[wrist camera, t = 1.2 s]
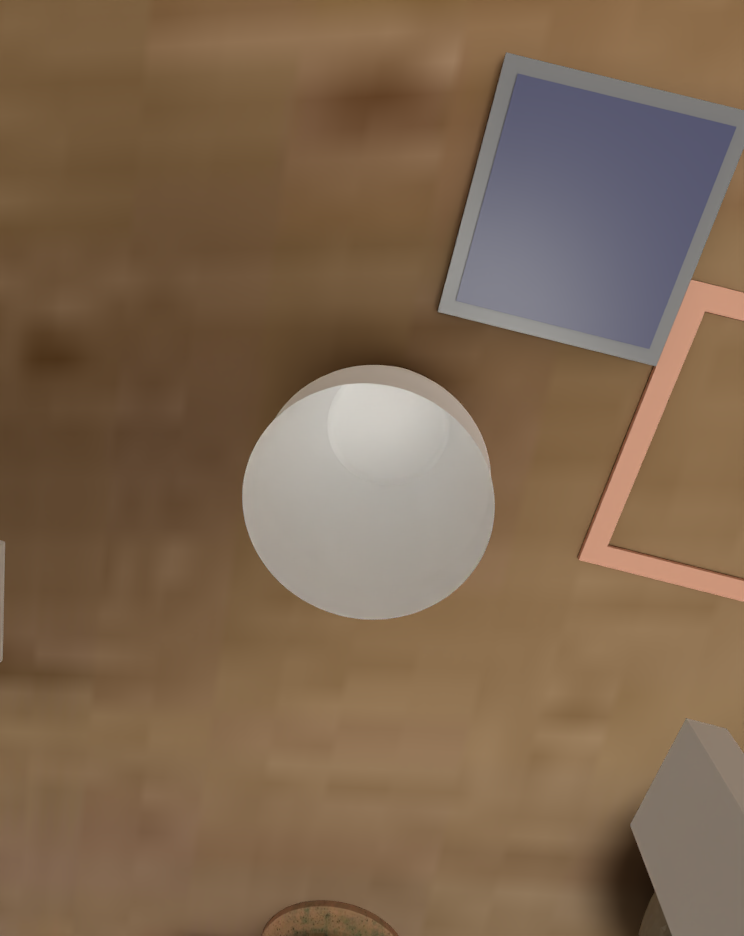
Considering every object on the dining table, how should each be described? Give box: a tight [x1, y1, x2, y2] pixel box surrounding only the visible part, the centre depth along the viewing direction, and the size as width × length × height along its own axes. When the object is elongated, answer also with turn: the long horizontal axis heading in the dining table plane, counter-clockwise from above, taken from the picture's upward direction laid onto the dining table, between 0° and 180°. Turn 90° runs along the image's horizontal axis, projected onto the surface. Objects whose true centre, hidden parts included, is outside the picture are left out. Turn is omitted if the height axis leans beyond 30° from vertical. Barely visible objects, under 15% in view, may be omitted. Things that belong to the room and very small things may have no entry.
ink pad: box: [437, 53, 744, 366], centre depth 26 cm, size 11×11×1 cm
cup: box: [242, 365, 495, 620], centre depth 25 cm, size 9×9×12 cm
